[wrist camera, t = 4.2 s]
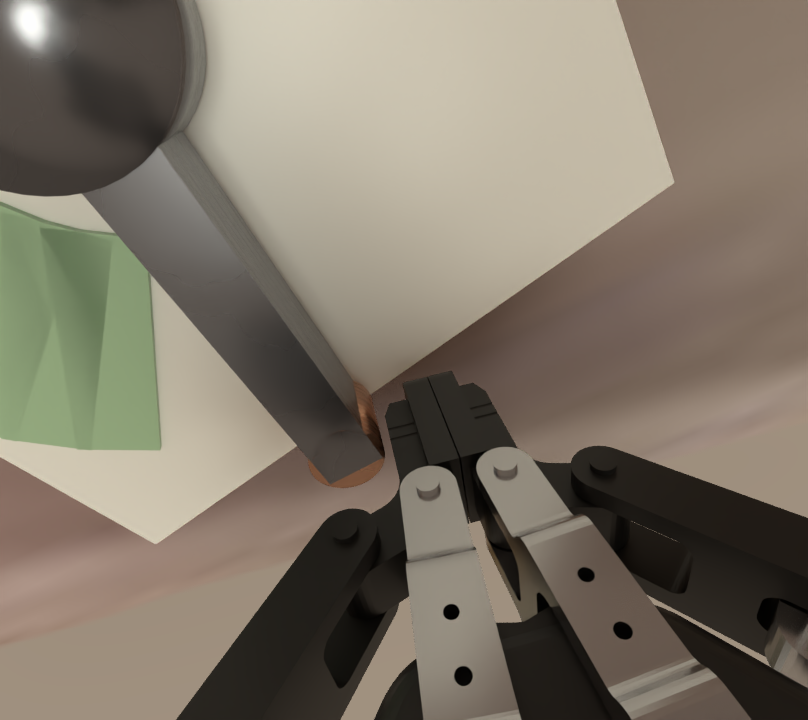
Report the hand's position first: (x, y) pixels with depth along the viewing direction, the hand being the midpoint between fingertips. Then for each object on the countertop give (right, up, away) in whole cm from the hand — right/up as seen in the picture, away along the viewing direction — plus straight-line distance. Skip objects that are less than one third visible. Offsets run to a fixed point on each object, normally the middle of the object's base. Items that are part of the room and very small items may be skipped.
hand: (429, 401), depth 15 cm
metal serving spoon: (-5, +4, -3) cm, 7 cm away
